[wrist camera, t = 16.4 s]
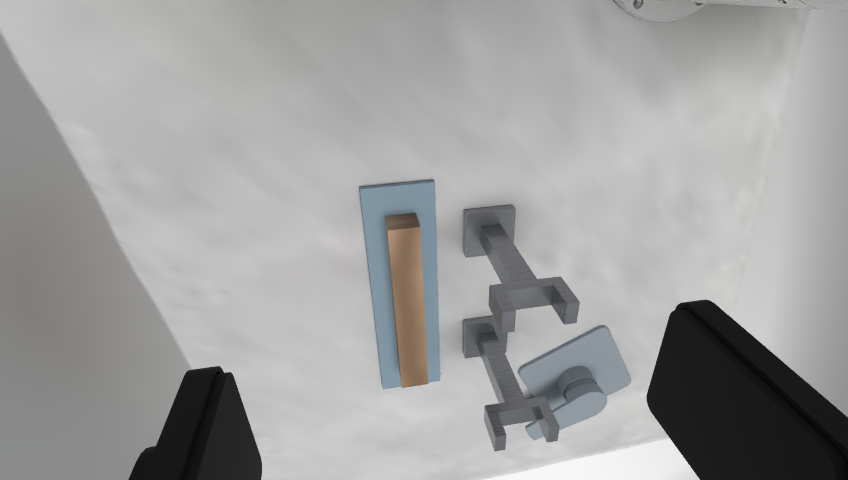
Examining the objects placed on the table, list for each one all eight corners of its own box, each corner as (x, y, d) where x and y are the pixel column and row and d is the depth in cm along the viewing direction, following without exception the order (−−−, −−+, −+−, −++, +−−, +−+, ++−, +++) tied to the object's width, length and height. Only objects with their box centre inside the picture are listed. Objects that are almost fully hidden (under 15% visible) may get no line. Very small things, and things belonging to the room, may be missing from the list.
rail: (415, 212, 44) (420, 227, 42) (424, 364, 54) (428, 383, 52) (384, 216, 44) (387, 230, 41) (399, 368, 54) (402, 387, 51)
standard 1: (509, 313, 53) (561, 414, 41) (507, 346, 56) (555, 451, 43) (459, 320, 52) (496, 425, 40) (459, 353, 55) (493, 461, 42)
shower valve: (510, 409, 54) (626, 350, 52) (496, 375, 59) (603, 320, 57) (547, 461, 60) (652, 409, 58) (532, 426, 65) (629, 378, 63)
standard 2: (517, 204, 46) (582, 285, 34) (514, 246, 49) (573, 337, 36) (459, 210, 46) (503, 295, 33) (459, 253, 48) (500, 347, 36)
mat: (433, 179, 44) (434, 182, 43) (439, 377, 56) (440, 380, 56) (359, 186, 43) (359, 189, 42) (382, 385, 56) (382, 389, 55)
